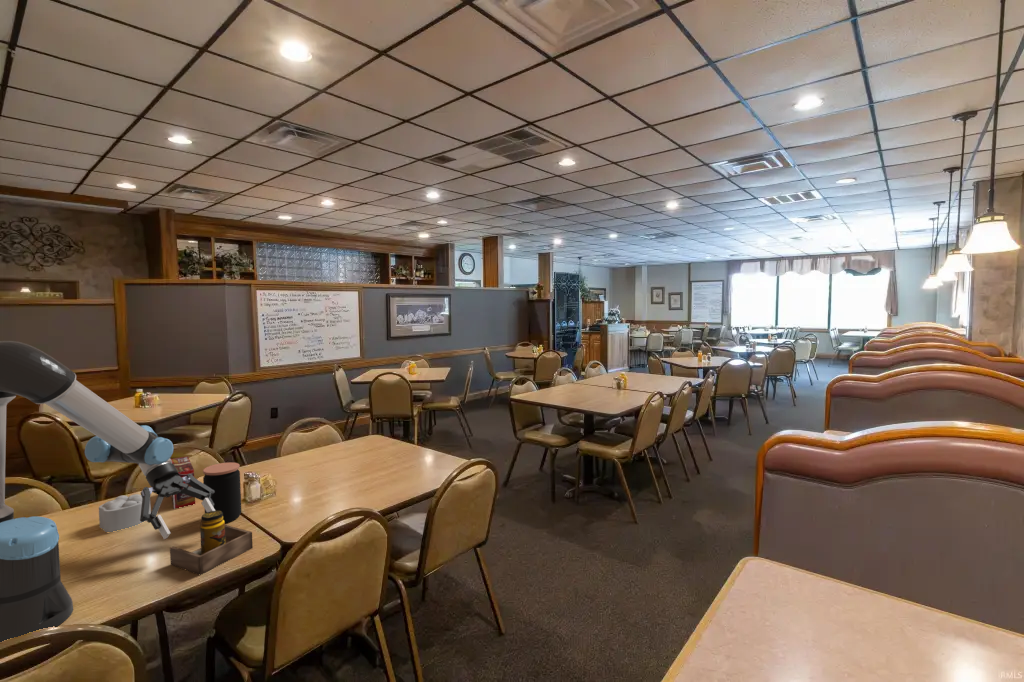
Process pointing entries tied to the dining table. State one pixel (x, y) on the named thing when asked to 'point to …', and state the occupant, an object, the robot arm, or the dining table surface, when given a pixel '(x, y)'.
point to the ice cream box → (183, 469)
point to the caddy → (213, 552)
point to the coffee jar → (225, 489)
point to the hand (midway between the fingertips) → (192, 526)
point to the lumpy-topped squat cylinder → (121, 513)
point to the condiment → (211, 531)
